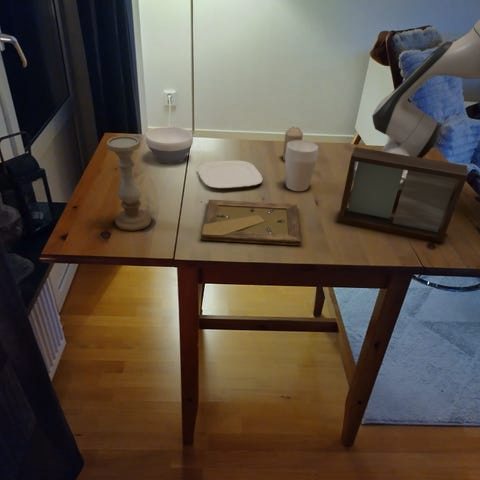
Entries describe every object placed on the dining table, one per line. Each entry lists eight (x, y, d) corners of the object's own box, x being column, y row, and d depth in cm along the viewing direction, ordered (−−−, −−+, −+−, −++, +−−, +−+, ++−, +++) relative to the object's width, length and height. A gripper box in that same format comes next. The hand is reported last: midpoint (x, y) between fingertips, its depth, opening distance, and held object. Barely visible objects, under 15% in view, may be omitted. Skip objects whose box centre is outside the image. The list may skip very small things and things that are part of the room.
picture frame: (202, 240, 111) (300, 246, 111) (201, 234, 110) (301, 239, 110) (208, 204, 125) (295, 209, 125) (208, 198, 124) (296, 203, 124)
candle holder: (109, 219, 117) (96, 138, 103) (141, 210, 121) (132, 132, 107) (124, 234, 112) (112, 152, 98) (157, 225, 116) (149, 144, 102)
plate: (249, 164, 146) (250, 158, 145) (267, 188, 134) (268, 183, 132) (193, 168, 142) (193, 162, 141) (206, 194, 129) (206, 188, 128)
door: (350, 203, 125) (361, 152, 116) (391, 211, 122) (406, 159, 113) (347, 210, 122) (358, 158, 113) (389, 218, 119) (404, 166, 110)
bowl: (144, 151, 151) (142, 127, 146) (188, 148, 154) (187, 125, 149) (151, 169, 140) (148, 144, 135) (197, 166, 144) (197, 141, 139)
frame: (341, 211, 125) (355, 146, 113) (442, 231, 119) (467, 165, 107) (337, 222, 121) (351, 155, 109) (441, 243, 115) (467, 175, 103)
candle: (285, 163, 148) (289, 131, 141) (280, 156, 152) (283, 125, 145) (301, 162, 149) (306, 130, 143) (296, 155, 153) (300, 124, 147)
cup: (313, 182, 138) (320, 142, 130) (311, 195, 132) (317, 153, 124) (284, 178, 139) (288, 138, 132) (279, 191, 133) (284, 149, 125)
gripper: (357, 150, 128) (349, 169, 118) (434, 163, 123) (432, 184, 113) (353, 172, 132) (344, 192, 122) (426, 185, 127) (424, 207, 117)
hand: (387, 188), depth 117 cm, fingers closed on door, 2 cm apart
